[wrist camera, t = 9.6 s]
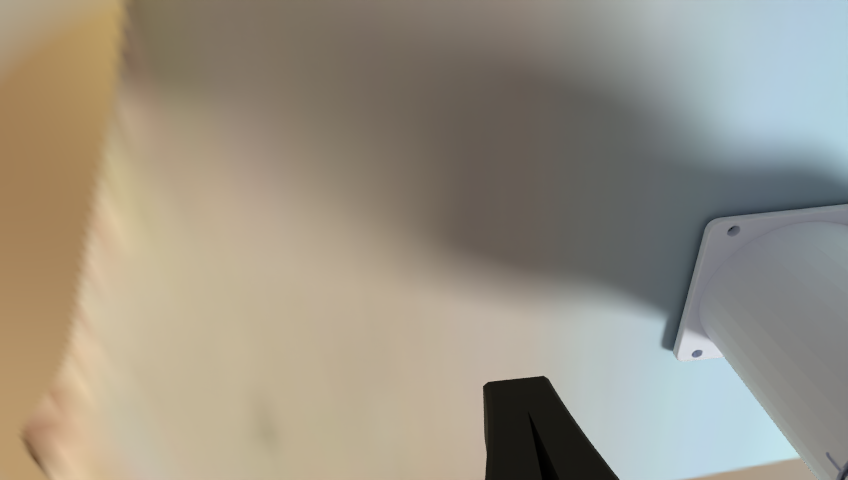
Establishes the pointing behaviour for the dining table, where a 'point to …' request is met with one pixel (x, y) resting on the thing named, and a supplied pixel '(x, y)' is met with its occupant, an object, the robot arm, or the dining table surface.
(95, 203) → the dining table surface
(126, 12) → the dining table surface
